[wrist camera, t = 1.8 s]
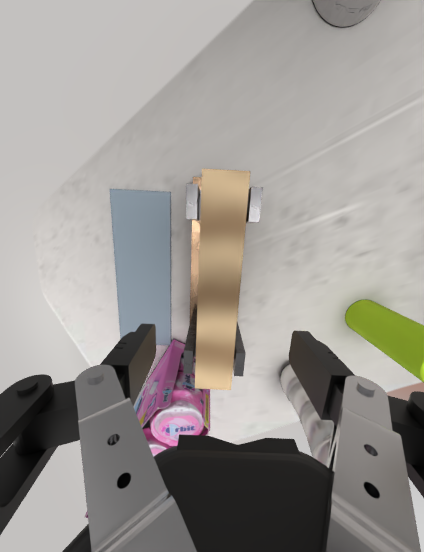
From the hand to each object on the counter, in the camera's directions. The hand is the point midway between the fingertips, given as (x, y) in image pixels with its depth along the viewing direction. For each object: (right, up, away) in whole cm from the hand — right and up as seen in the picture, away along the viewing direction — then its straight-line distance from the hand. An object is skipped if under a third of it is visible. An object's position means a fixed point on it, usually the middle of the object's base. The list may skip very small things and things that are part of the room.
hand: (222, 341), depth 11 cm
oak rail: (0, +3, +11) cm, 12 cm away
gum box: (-10, -18, +27) cm, 34 cm away
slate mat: (-12, +4, +22) cm, 25 cm away
